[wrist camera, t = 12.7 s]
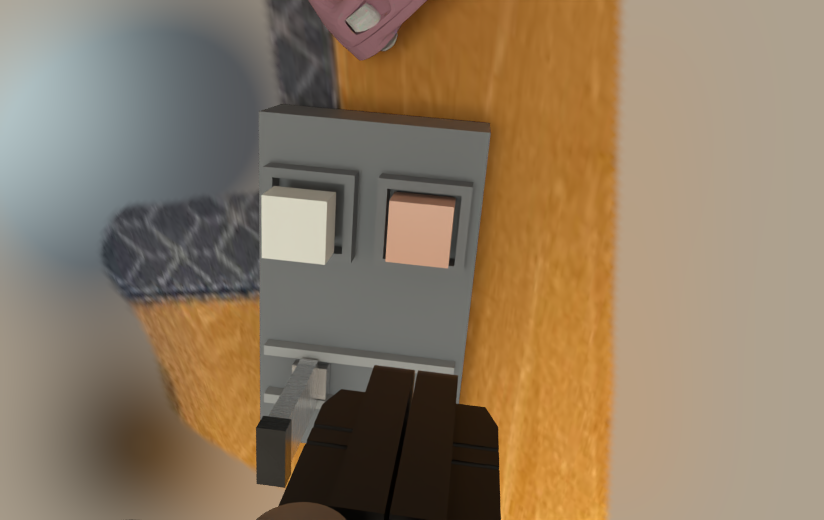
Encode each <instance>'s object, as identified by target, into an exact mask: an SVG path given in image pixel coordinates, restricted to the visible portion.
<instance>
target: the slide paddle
mask: <svg viewBox="0 0 824 520" xmlns="http://www.w3.org/2000/svg"><path fill="white" fill-rule="evenodd" d="M329 383H330V363H329V362H321V361H316V360H308V359H296V360H295V361H294V363H293V365H292V375H291V377H290V379H289V380H288V382H287V384H286V386H285V387H284V389H283V391H282V393H281V395H280V396H279V398H278V400H277V402H276V403H275V405H274V407H273V409H272V410H271V412H270V414H269V416H263V417H262V419H261V420H260V422H259V424H258V425H257V427H256V461H257V484H263V485H269V486H277V487H284V488H285V486H286V484H287V482H288V480H289V477H290V475H291V462H292V460H293V457H294V455H295V453H296V451H297V449H298V446H299V444H300V442H301V440H302V437H303V435H304V433H305V431H306V429H307V426H308V424H309V422H310V420H311V417H312V415H313V413H314V411H315V409H316V406H317V399H324V400H325V399H326V397H327V395H328V392H329Z"/></svg>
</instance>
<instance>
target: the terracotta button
mask: <svg viewBox="0 0 824 520" xmlns="http://www.w3.org/2000/svg"><path fill="white" fill-rule="evenodd" d="M455 201H456V198H454V197H444V196H435V195H425V194H415V193H405V192H394V194H393V195H392V197H391V199H390V201H389V215H388V230H387V245H386V260H385V262H393V263H402V264H411V265H420V266H429V267H439V268H448V265H449V258H450V250H451V240H452V230H453V220H454V211H455Z"/></svg>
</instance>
